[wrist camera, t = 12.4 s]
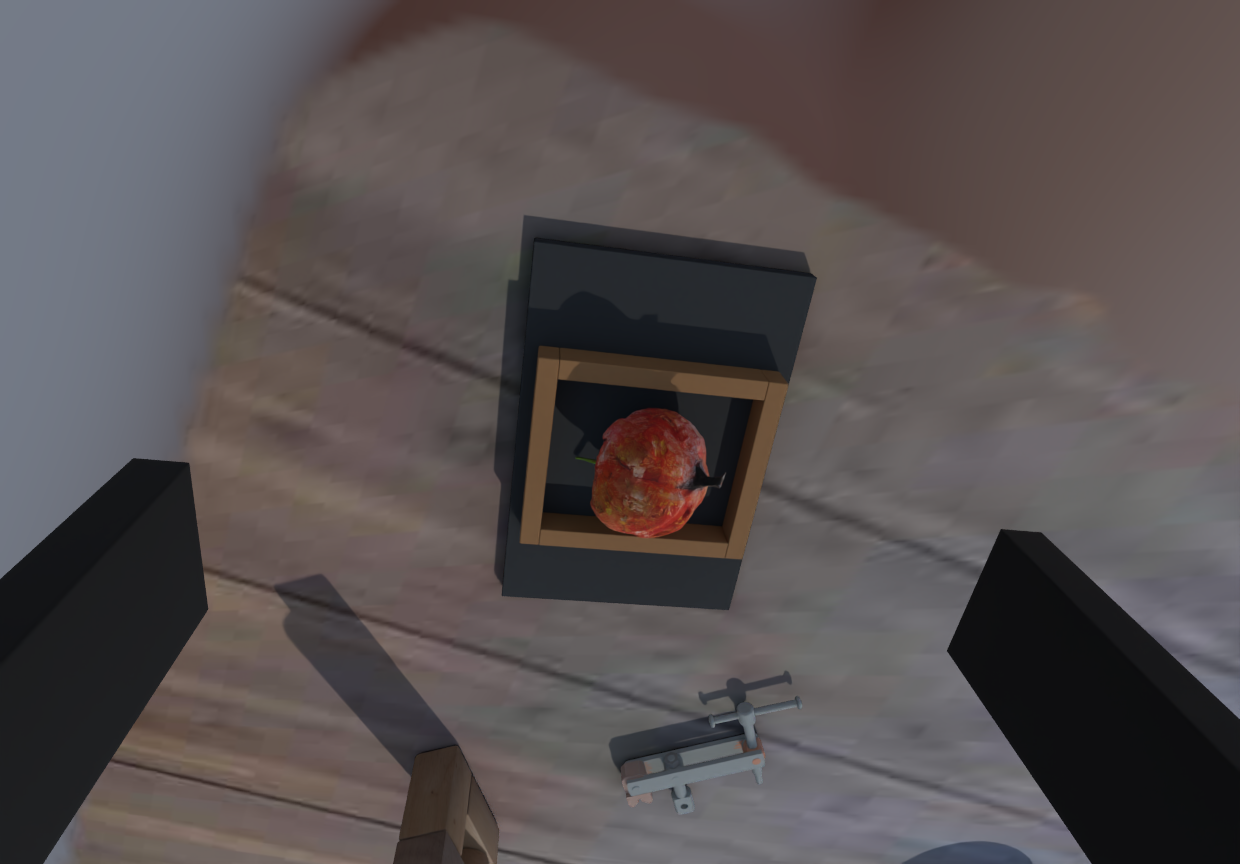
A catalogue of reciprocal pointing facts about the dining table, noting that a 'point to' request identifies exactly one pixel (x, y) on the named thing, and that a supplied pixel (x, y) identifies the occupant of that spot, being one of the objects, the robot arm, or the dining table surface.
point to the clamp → (700, 760)
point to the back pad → (639, 379)
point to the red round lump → (650, 473)
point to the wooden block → (446, 814)
